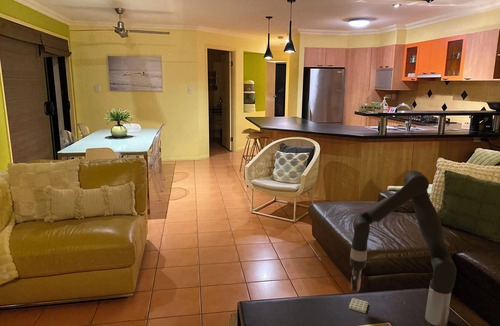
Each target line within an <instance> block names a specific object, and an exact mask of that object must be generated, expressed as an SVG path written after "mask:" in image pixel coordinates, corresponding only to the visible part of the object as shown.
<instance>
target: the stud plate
mask: <svg viewBox="0 0 500 326" xmlns="http://www.w3.org/2000/svg"><path fill="white" fill-rule="evenodd" d="M350 300H351V301H350V303H349V305H348V310H353V311H357V312H359V313H363V314H366V313H367V309H368V305H369V302H368V301H366V300H363V299H362V300H361V299H358V298H355V297H352V298H351V299H350Z"/></svg>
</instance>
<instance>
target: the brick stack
mask: <svg viewBox="0 0 500 326" xmlns="http://www.w3.org/2000/svg"><path fill="white" fill-rule="evenodd" d="M361 280H362V276H360V278H359V280H358V284H357V291H356V292H358V293H359V291H360V290H361V289H360V288H361V282H362V281H361ZM349 290H352V277H351V279H350V287H349ZM352 291H353V290H352Z"/></svg>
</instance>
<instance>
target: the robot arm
mask: <svg viewBox="0 0 500 326" xmlns="http://www.w3.org/2000/svg"><path fill="white" fill-rule="evenodd" d="M403 183H404V185H403V186H401V188H400V189H398V191H396V192H395V193H393V194H391V195H389V196H386V197H385V198H383V199H382V200H380V201H378V202H377V203H375V204H374V205H373V206H372V207H370V208H369V209H368V210H365V211H364V212H362V213H360V214H358V215H357V216H356V217H355V218H354V220H353V237H352V240H351V242H352V243H351V249H350V253H349V254H350V257H349V265H350V266H351V268H352V270H351V273H352V275H351V278H352V291H354V292H358V291H357V284H358V280H359V278H360V277H362V276H361V275H362V270H363V269H365V268H366V266H367V257H368V240H369V236H370V232H371V231H370V229H371V227H370V225H371V224H373V223H374V222H375V223H379V222H381V221H383V219H385V218H386V217H387V216H389V215H390V214H391V213H392V212H394V211H395V210H396V209H398V208H400V207H402V205H405V204H406V203H407V202H409V201H412V206H413V209H414V213H415V217H416V221H417V224H418V227H419V231H420V233H421V235H422V238H423V240H424V242H425V243H426V245H427V248H428V252H429V256H430V262H431V266H432V268H433V274H432V278H431V280H430V281H429V287H428V294H427V301H426V307H425V315H424V319H425V320H426V321H427V323H429V324H430V325H433V326H448V319H449V314H450V302H451V297H452V292H453V289H454V287H455V283H456V279H457V271H458V270H457V266H456V265H455V264H456V263H455V262H454V260H453V258H452V257H451V255H450V253H449V251H448V248H447V246H446V243H445V239H444V238H445V237H444V230H443V225H442V223H441V219H440V217H439V216H440V215H439V214H438V211H437V210H436V207H435V205H434V204H433V202H432V200H431V198H430V196H429V193H428V189H429V186H430V182H429V179H428V178H427V177H426V176H425V174H423V173H422V172H421V171H418V170H411V171H409V172H407V173H406V174H405V176H404V180H403Z"/></svg>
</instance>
